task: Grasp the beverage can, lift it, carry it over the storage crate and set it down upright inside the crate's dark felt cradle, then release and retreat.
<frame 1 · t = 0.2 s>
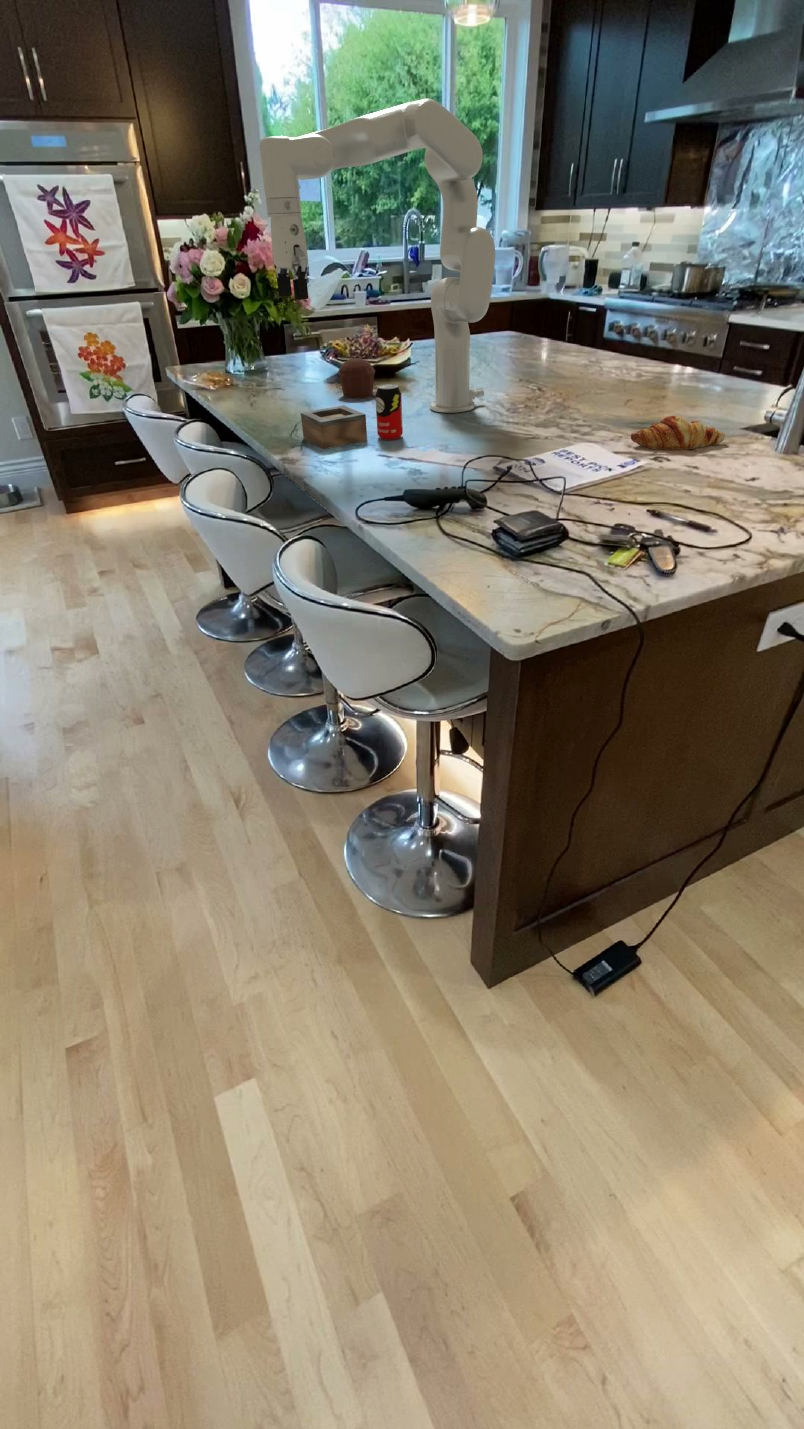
hand: (293, 297, 169), 31 cm above the worktop, fingers open, 9 cm apart
storage crate: (335, 439, 182), on the worktop
muffin: (358, 395, 223), on the worktop
beverage can: (390, 438, 182), on the worktop
croissant: (676, 447, 167), on the worktop
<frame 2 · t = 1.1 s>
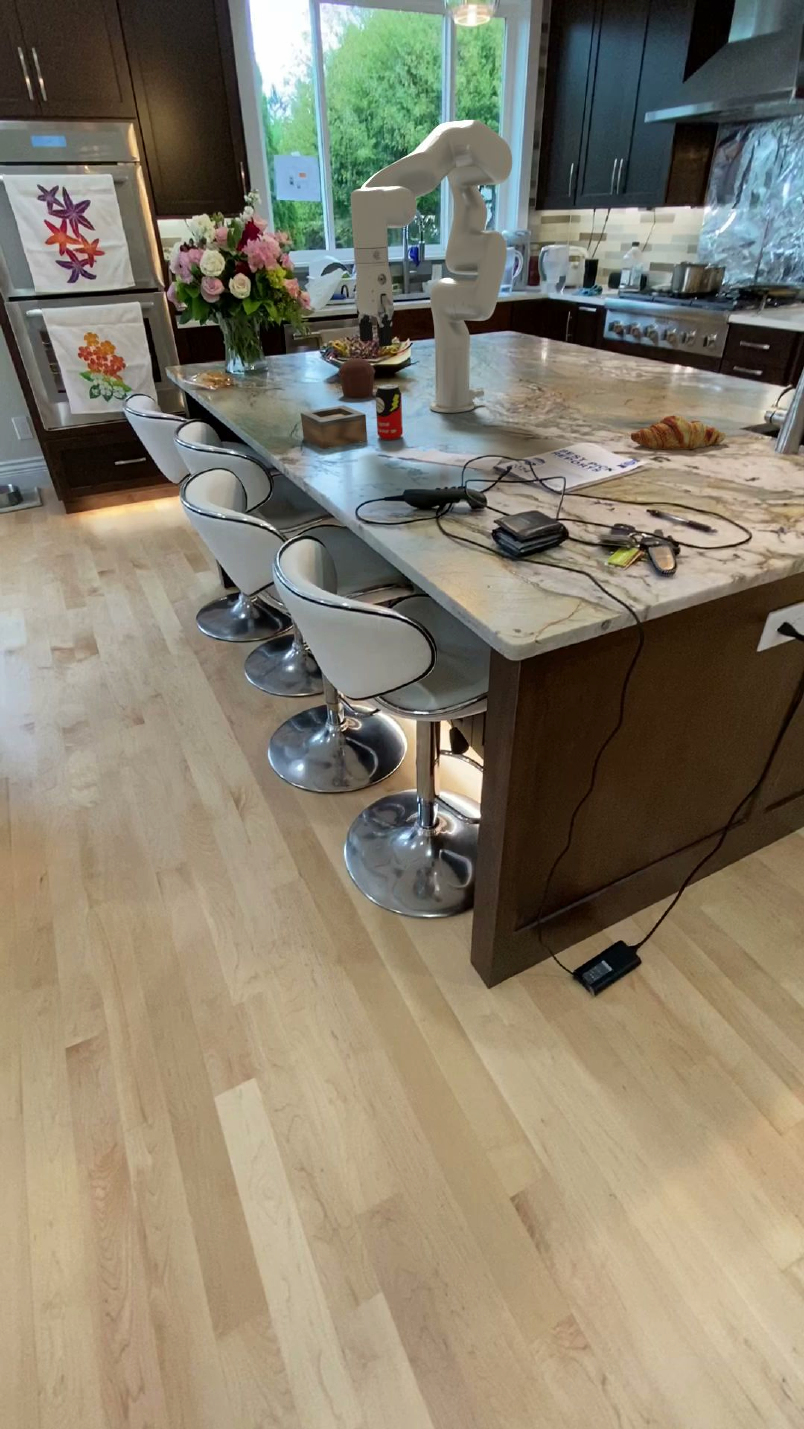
hand: (375, 343, 170), 21 cm above the worktop, fingers open, 9 cm apart
nothing on the worktop moved.
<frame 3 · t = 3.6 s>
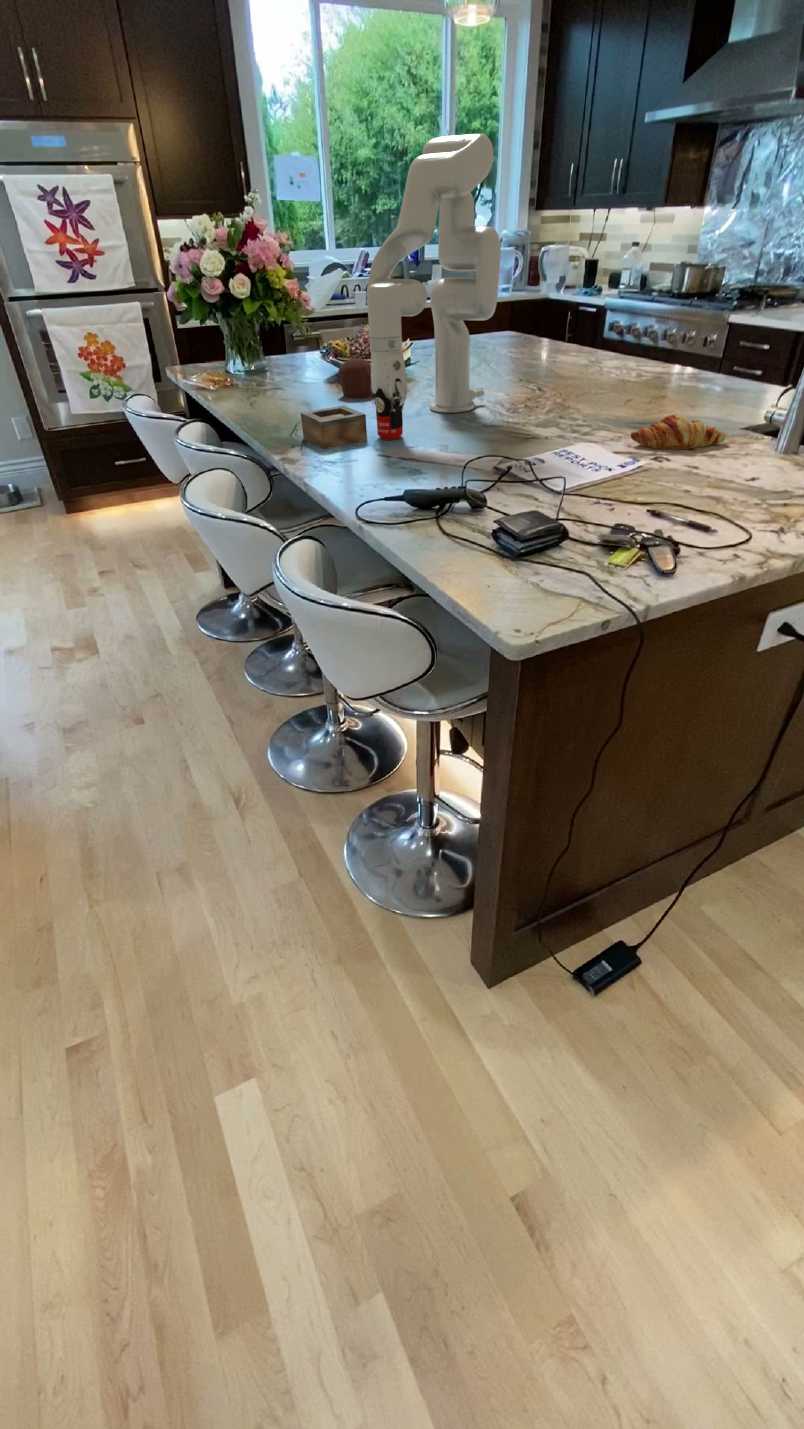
hand: (389, 424, 180), 3 cm above the worktop, fingers closed on beverage can, 6 cm apart
beverage can: (390, 438, 182), on the worktop, touching gripper
everything else where it was.
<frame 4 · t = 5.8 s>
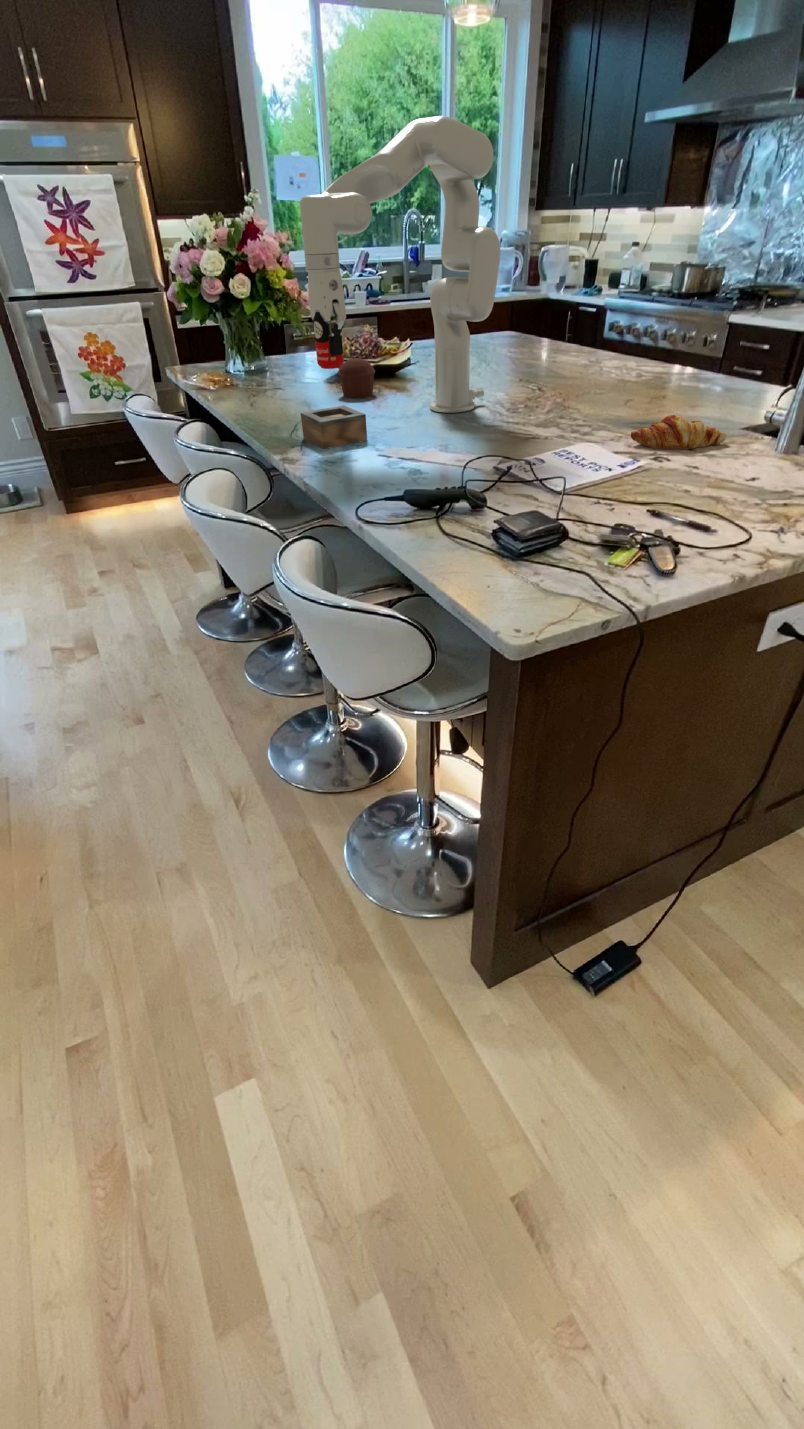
hand: (329, 352, 170), 20 cm above the worktop, fingers closed on beverage can, 6 cm apart
beverage can: (331, 368, 172), point 16 cm above the worktop, touching gripper
everything else where it was.
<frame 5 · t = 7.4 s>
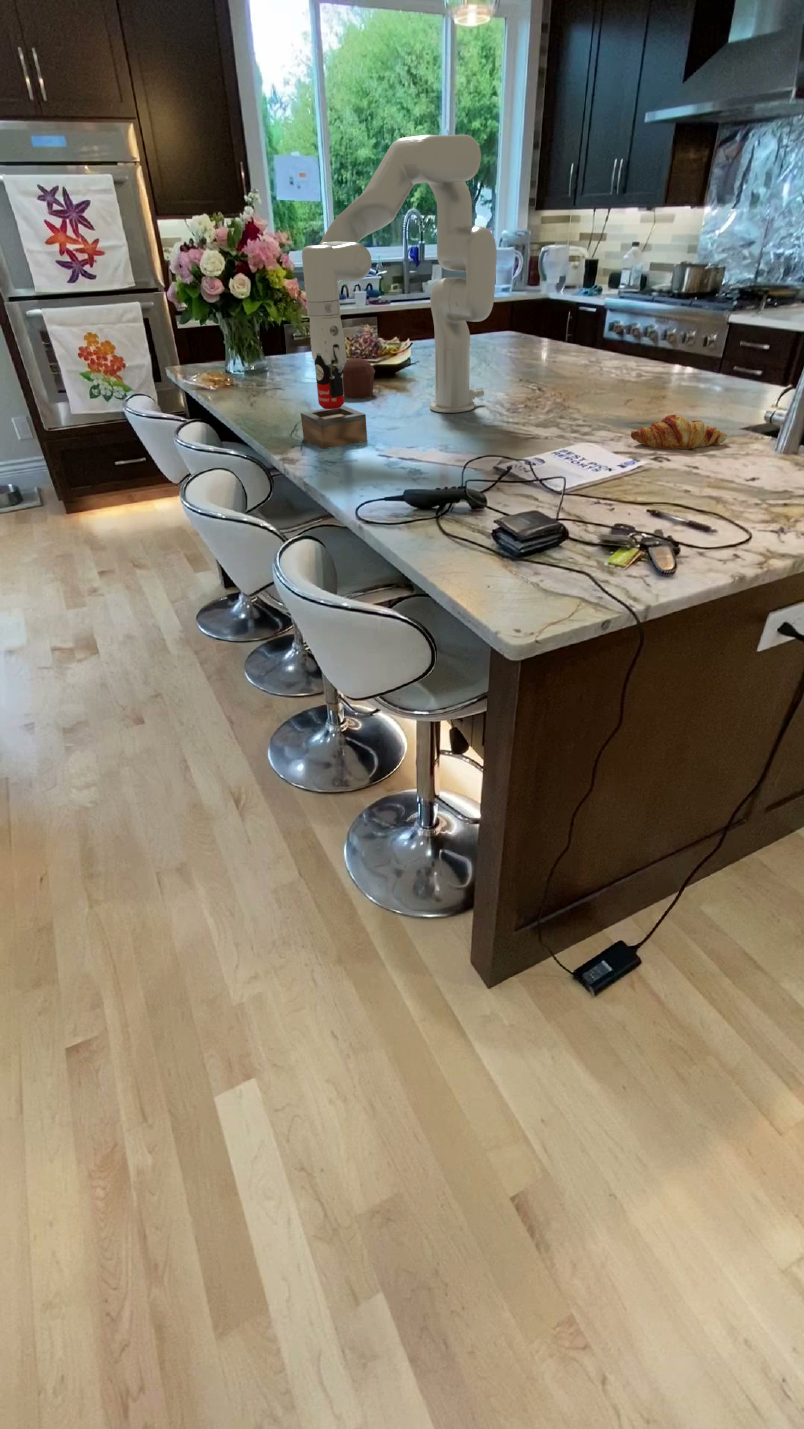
hand: (330, 393, 176), 11 cm above the worktop, fingers closed on beverage can, 6 cm apart
beverage can: (332, 407, 178), point 8 cm above the worktop, touching gripper
everything else where it was.
when the fingers open (9 cm above the worktop, at t = 8.2 s): beverage can drops 1 cm, resting on storage crate.
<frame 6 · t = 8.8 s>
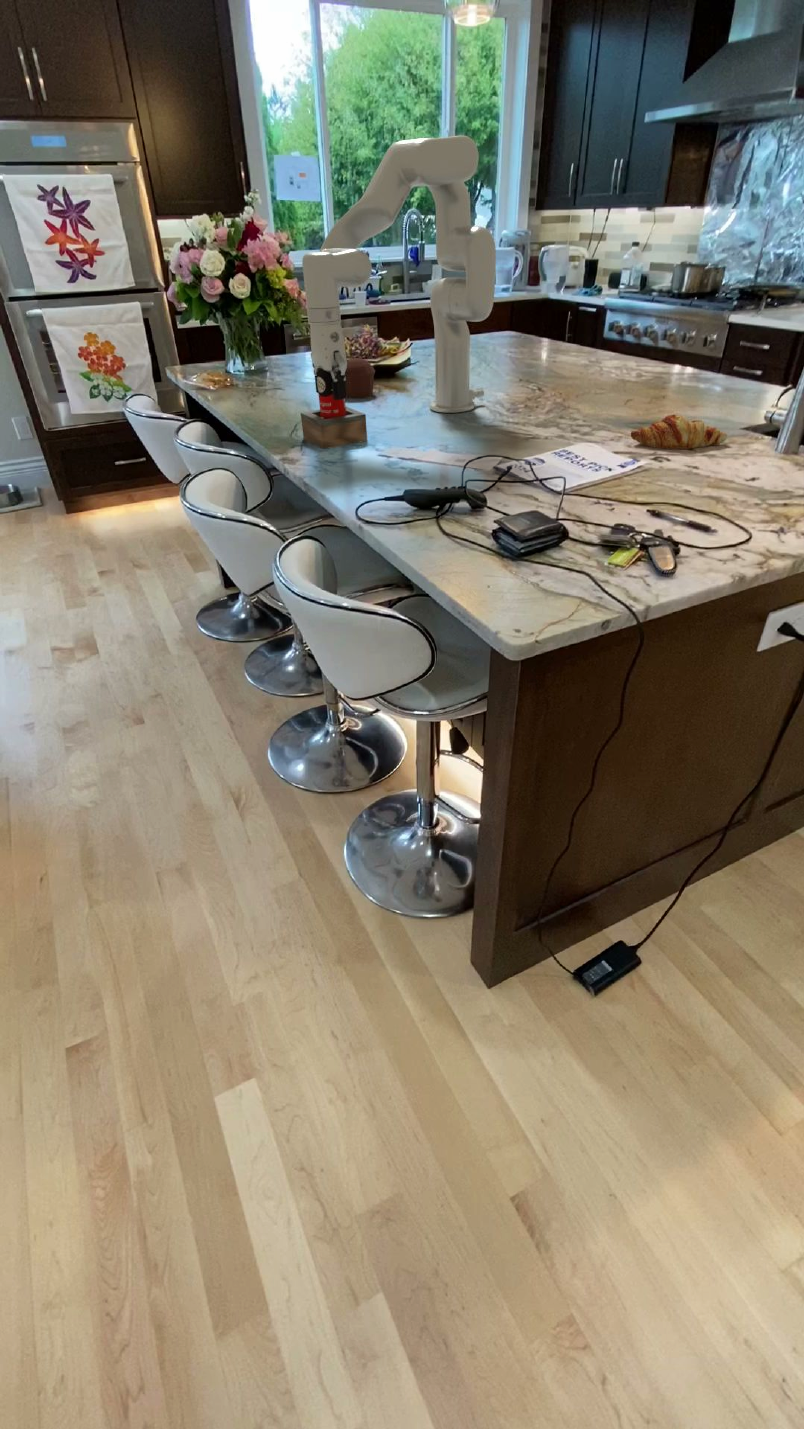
hand: (331, 395, 176), 10 cm above the worktop, fingers open, 9 cm apart
beverage can: (333, 419, 179), point 5 cm above the worktop, touching storage crate
everything else where it was.
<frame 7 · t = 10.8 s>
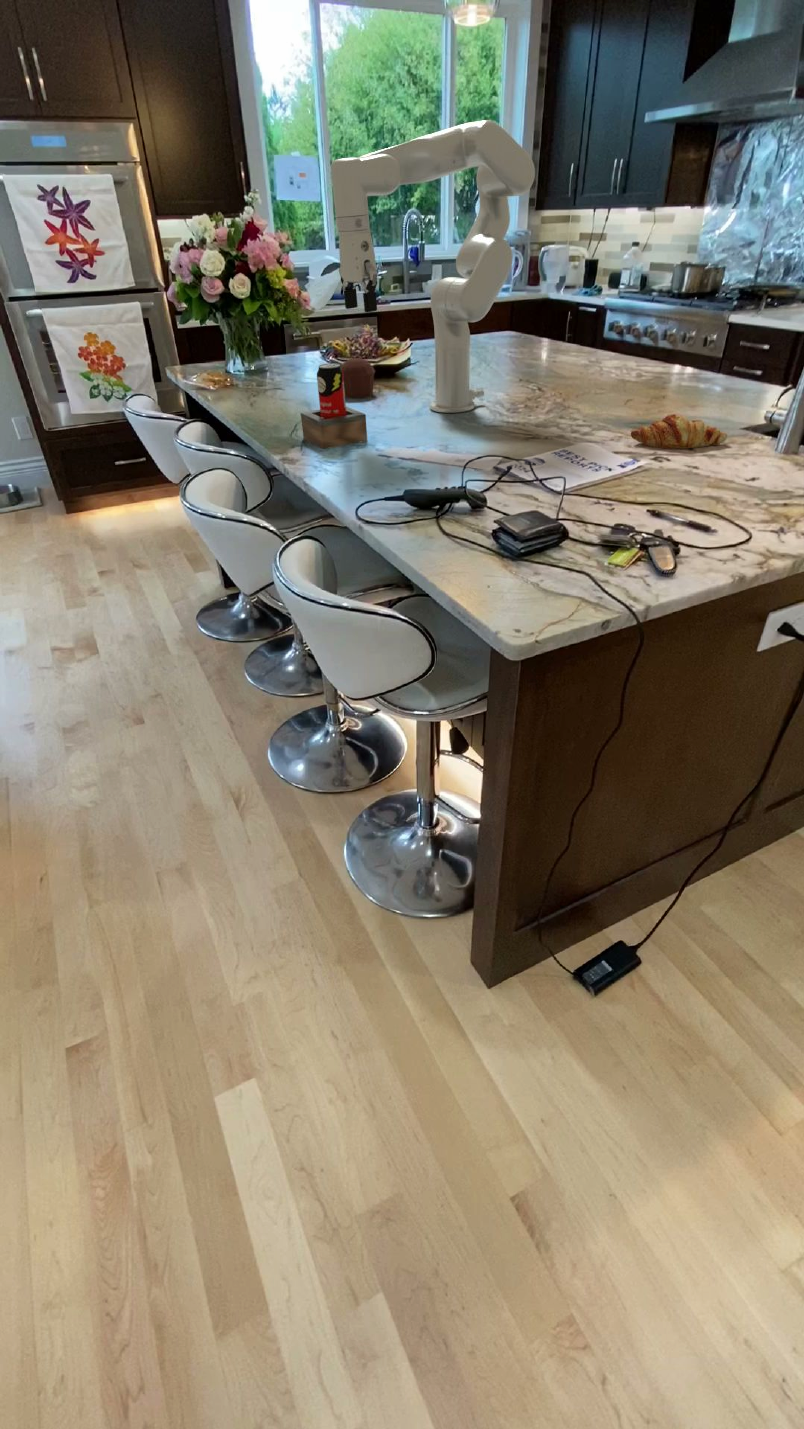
hand: (361, 309, 177), 27 cm above the worktop, fingers open, 9 cm apart
nothing on the worktop moved.
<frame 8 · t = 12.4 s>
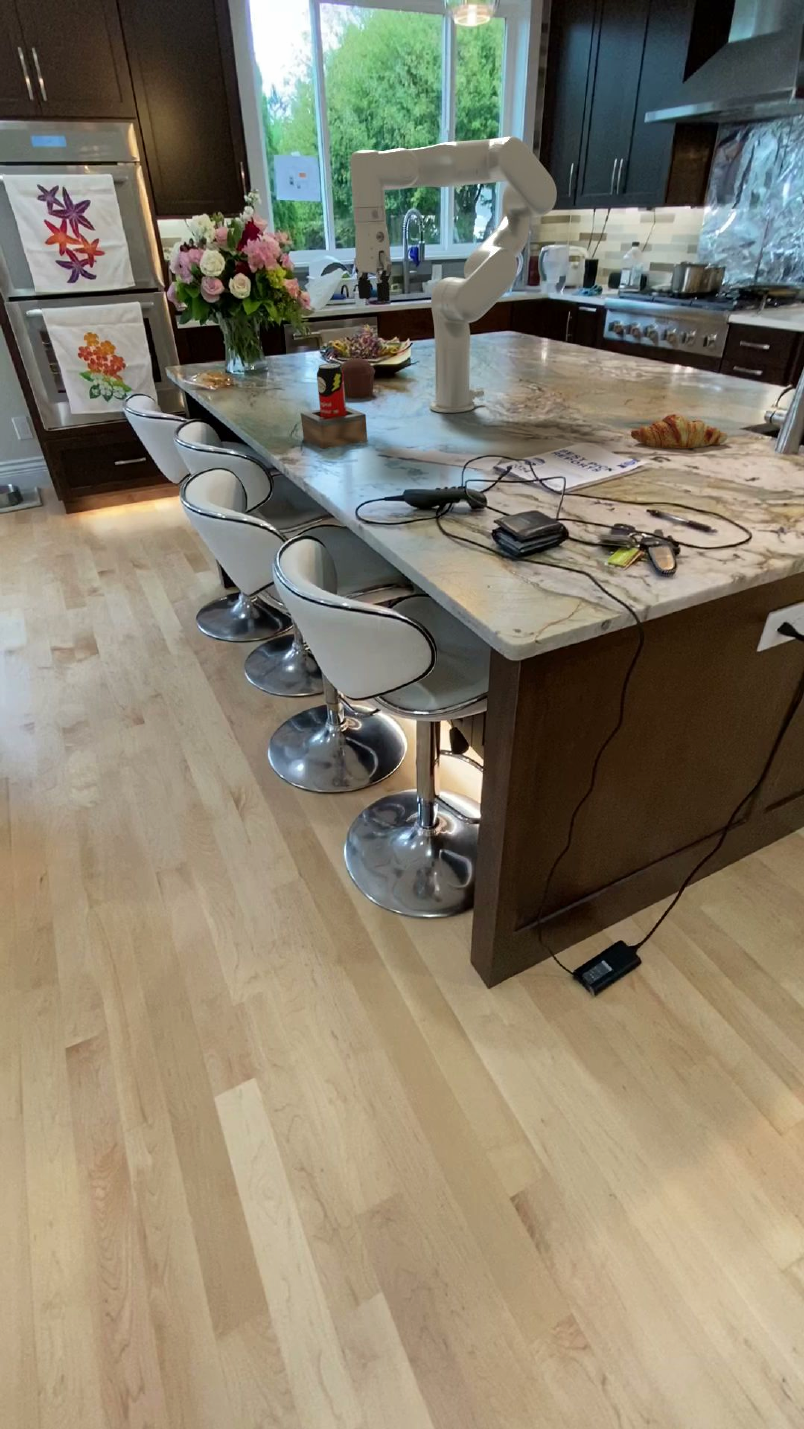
hand: (374, 300, 181), 28 cm above the worktop, fingers open, 9 cm apart
nothing on the worktop moved.
at the end: beverage can inside the target area on the storage crate (0.2 cm from its centre), point 4.8 cm above the storage crate's base; beverage can tilted 0°; the gripper is holding nothing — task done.
